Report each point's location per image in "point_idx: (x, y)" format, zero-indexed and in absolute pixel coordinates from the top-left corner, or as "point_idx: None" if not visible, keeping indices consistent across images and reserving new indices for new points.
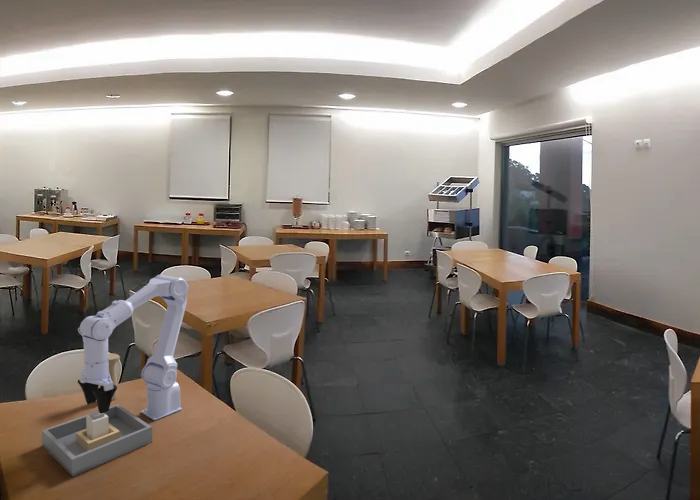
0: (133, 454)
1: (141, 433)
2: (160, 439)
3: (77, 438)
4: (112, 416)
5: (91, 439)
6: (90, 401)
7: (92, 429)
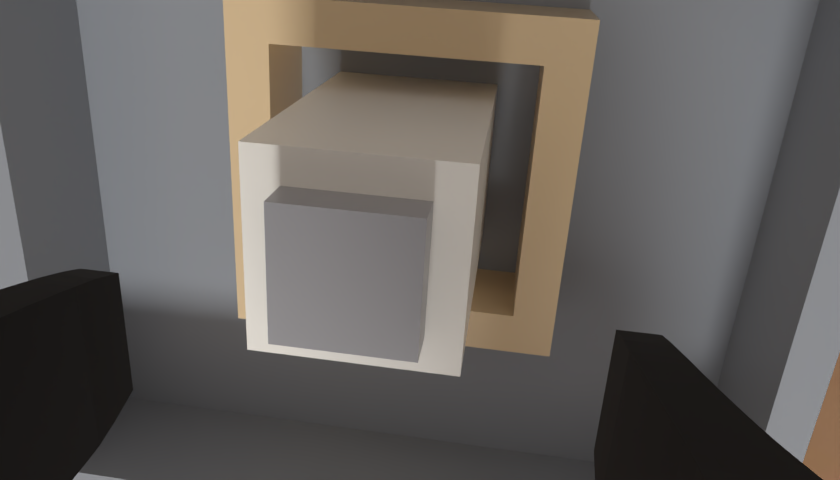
0: None
1: None
2: None
3: (548, 11)
4: None
5: (368, 87)
6: (617, 397)
7: (290, 112)
